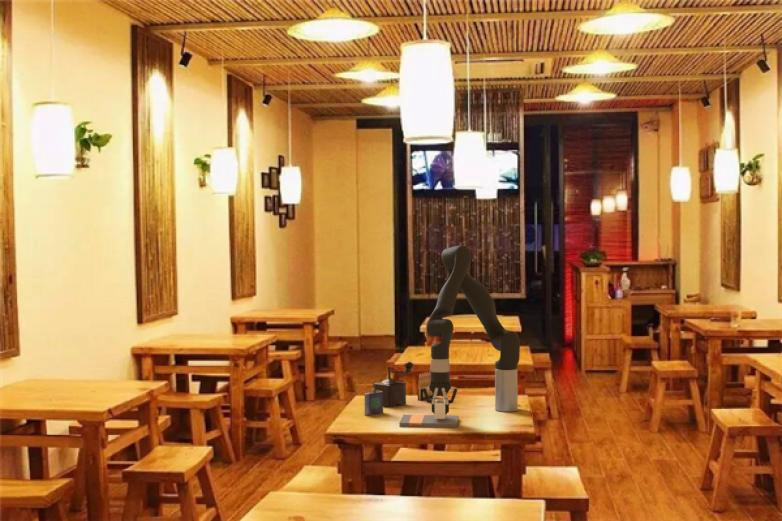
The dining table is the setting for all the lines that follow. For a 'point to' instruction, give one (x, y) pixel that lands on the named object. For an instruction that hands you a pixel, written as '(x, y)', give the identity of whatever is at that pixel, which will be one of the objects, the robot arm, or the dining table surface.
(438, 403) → the block
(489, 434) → the dining table surface
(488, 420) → the dining table surface
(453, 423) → the board
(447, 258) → the robot arm
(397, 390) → the black coffee grinder
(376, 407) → the flask
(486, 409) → the dining table surface
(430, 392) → the ammunition clip
